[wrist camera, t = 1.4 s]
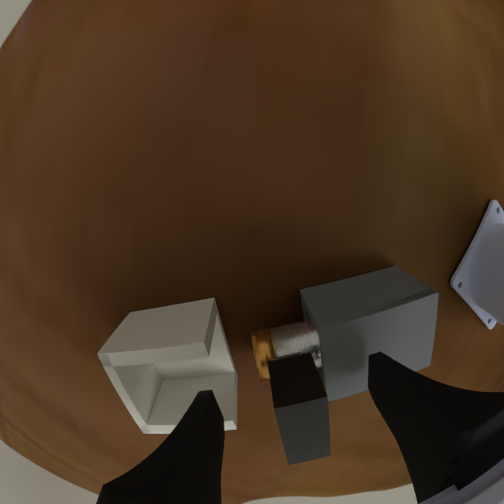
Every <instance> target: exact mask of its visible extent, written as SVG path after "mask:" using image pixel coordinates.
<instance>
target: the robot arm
mask: <svg viewBox="0 0 504 504" xmlns="http://www.w3.org/2000/svg"><path fill="white" fill-rule="evenodd" d="M458 284H459V285H458ZM450 285H451V287H452V288H453V289H454V290H455V291H456V292H457V293H458V294H459V295H460V296H461V297H462V298H463V300H464V301H465V302H466V303H467V304H468V305H469V306H470V308H471V309H472V310H473V311H474V312H475V313H476V314H477V316H478V317H479V318H480V319H481V320H482V322H483V323H484V324H485V325H486V327H487V328H489V329H492V328H493V327H494V326H495V324H496V322H498V323H500V324H501V325H503V326H504V212H503V210H502V208H501V207H500V205H499V203H498V202H497V200H491V202H490V204H489V206H488V209H487V211H486V213H485V215H484V218H483V220H482V222H481V224H480V226H479V228H478V230H477V232H476V234H475V236H474V238H473V240H472V242H471V244H470V246H469V248H468V250H467V252H466V254H465V255H464V257H463V259H462V261H461V263H460V264H459V266H458V268H457V270H456V271H455V273H454V275H453V276H452V278H451V281H450ZM368 389H369V391H370V394H371V396H372V398H373V401H374V403H375V405H376V407H377V408H378V410H379V412H380V413H381V415H382V417H383V418H384V420H385V422H386V423H387V425H388V427H389V428H390V430H391V432H392V433H393V435H394V437H395V439H396V441H397V443H398V445H399V448H400V450H401V452H402V455H403V457H404V460H405V463H406V465H407V468H408V471H409V474H410V477H411V480H412V483H413V487H414V491H415V494H416V498H417V503H418V504H502V503H504V392H479V391H471V390H466V389H461V388H457V387H453V386H449V385H446V384H443V383H440V382H437V381H435V380H432V379H430V378H428V377H426V376H423V375H421V374H419V373H417V372H415V371H413V370H411V369H410V368H408V367H406V366H404V365H402V364H401V363H399V362H397V361H396V360H394V359H392V358H391V357H389V356H387V355H386V354H384V353H382V352H381V351H380V352H377V353H374V354H371V355H369V362H368ZM224 439H225V429H224V417H223V415H222V412H221V410H220V408H219V405H218V403H217V400H216V398H215V396H214V393H213V391H212V390H204V391H199V392H198V393H197V395H196V397H195V398H194V400H193V401H192V403H191V405H190V406H189V408H188V409H187V411H186V413H185V414H184V415H183V417H182V418H181V420H180V421H179V423H178V424H177V425H176V427H175V428H174V429H173V431H172V432H171V433H170V434H169V436H168V437H167V438H166V439H165V440H164V442H163V443H162V444H161V445H160V446H159V447H158V448H157V449H156V450H155V451H154V452H153V453H152V454H150V455H149V456H148V457H147V458H146V459H144V460H143V461H142V462H141V463H140V464H138V465H137V466H135V467H134V468H133V469H131V470H130V471H128V472H126V473H125V474H123V475H121V476H120V477H118V478H116V479H114V480H112V481H110V482H108V483H106V484H104V485H103V487H102V489H101V491H100V494H99V497H98V500H97V503H96V504H221V468H222V459H223V449H224Z"/></svg>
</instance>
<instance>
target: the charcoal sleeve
mask: <svg viewBox="0 0 504 504" xmlns="http://www.w3.org/2000/svg"><path fill="white" fill-rule="evenodd" d="M300 294H301V301H302V307H303V314H304V321H306V320H310V319H312V322H313V324H314V326H315V328H316V330H317V332H318V335H319V344H320V354H321V363H322V368H318V369H317V370H318V373H319V375H320V378H321V380H322V383H323V386H324V388H325V391H326V394H327V396H328V402H329V401H333V400H337V399H340V398H344V397H347V396H350V395H354V394H357V393H360V392H363V391H366V390H369V389H368V362H369V355H371V354H374V353H377V352H380V351H381V352H382V353H384V354H386V355H387V356H389V357H391V358H392V359H394V360H396V361H397V362H399V363H401V364H402V365H404V366H406V367H408V368H410V369H411V370H413V371H415V372H416V371H419V370H421V369H423V368H425V367H428V366H430V363H431V357H432V351H433V344H434V337H435V329H436V320H437V309H438V295H439V292H438V291H436V290H435V289H433V288H431V287H430V286H428V285H426V284H425V283H423V282H422V281H420V280H418V279H417V278H415V277H413V276H412V275H410V274H408V273H407V272H405V271H403V270H402V269H400V268H398V267H397V266H393V267H389V268H386V269H382V270H378V271H374V272H371V273H367V274H363V275H359V276H355V277H351V278H347V279H343V280H339V281H335V282H330V283H326V284H322V285H318V286H313V287H309V288H305V289H300Z"/></svg>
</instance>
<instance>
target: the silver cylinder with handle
mask: <svg viewBox="0 0 504 504" xmlns="http://www.w3.org/2000/svg"><path fill="white" fill-rule="evenodd" d="M251 339H252V346H253V352H254V358H255V363H256V367H257V371H258V375H259V378H260V381H261V382H262V381H267V380H270V383H271V390H272V397H273V404H274V410H275V414H276V418H277V422H278V426H279V430H280V434H281V438H282V441H283V445H284V449H285V453H286V457H287V461H288V464H289V465H291V464H296V463H301V462H305V461H310V460H314V459H318V458H323V457H326V456H330V430H329V411H328V396H327V394H326V391H325V388H324V386H323V383H322V380H321V378H320V375H319V373H318V370H317V369H318V368H322V363H321V354H320V344H319V335H318V332H317V330H316V328H315V326H314V324H313V322H312V319H310V320H306V321H302V322H297V323H293V324H289V325H284V326H279V327H275V328H265V329H260V330H255V331H251Z"/></svg>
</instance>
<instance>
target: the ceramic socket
mask: <svg viewBox="0 0 504 504" xmlns="http://www.w3.org/2000/svg"><path fill="white" fill-rule="evenodd" d="M97 355H98V357H99V359H100V361H101V363H102V365H103V367H104V369H105V371H106V372H107V374H108V376H109V378H110V380H111V382H112V384H113V385H114V387H115V389H116V391H117V392H118V394H119V396H120V397H121V399H122V401H123V402H124V404H125V406H126V407H127V409H128V411H129V412H130V414H131V415H132V417H133V418H134V420H135V421H136V423H137V424H138V426H139V427H140V429H141V430H142V432H143V433H150V434H170V433H171V432H172V431H173V429H174V428H175V427H176V425H177V424H178V423H179V421H180V420H181V418H182V417H183V415H184V414H185V413H186V411H187V409H188V408H189V406H190V405H191V403H192V401H193V400H194V398H195V397H196V395H197V393H198V392H199V391H204V390H212V391H213V393H214V396H215V398H216V400H217V403H218V405H219V408H220V410H221V412H222V415H223V417H224V429H225V430H234V429H237V372H236V369H235V366H234V363H233V360H232V356H231V353H230V350H229V346H228V343H227V340H226V336H225V333H224V329H223V326H222V323H221V319H220V316H219V312H218V308H217V305H216V301H215V298H209V299H204V300H198V301H193V302H187V303H182V304H176V305H170V306H165V307H159V308H153V309H147V310H140V311H134V312H130V313H129V314H128V315H127V316H126V318H125V319H124V320H123V321H122V323H121V324H120V325H119V326H118V328H117V329H116V330H115V331H114V333H113V334H112V335H111V336H110V338H109V339H108V340H107V341H106V343H105V344H104V345H103V347H102V348H101V349H100V350H99V352H98V353H97Z"/></svg>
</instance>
